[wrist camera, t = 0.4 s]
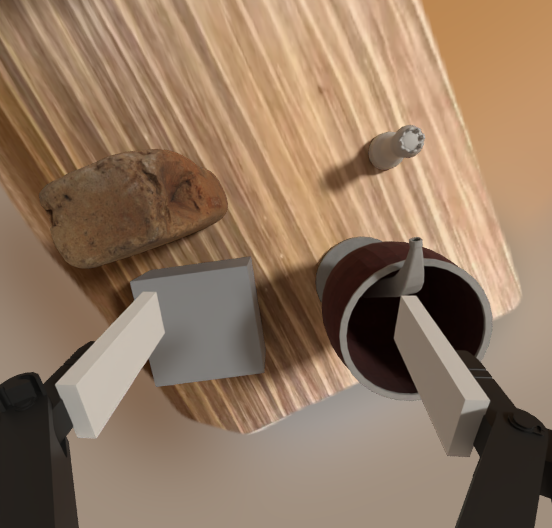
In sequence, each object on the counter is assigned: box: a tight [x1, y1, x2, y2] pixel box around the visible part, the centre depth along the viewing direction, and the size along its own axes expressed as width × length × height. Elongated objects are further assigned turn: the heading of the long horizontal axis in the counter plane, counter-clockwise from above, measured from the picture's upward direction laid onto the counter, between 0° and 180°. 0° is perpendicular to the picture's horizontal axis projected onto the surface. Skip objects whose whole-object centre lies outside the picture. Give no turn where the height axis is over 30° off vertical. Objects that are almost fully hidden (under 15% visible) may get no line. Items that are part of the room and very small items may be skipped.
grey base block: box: [130, 256, 266, 387], centre depth 40 cm, size 14×14×6 cm
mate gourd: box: [316, 237, 492, 401], centre depth 32 cm, size 16×14×20 cm
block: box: [39, 149, 228, 268], centre depth 30 cm, size 11×8×20 cm
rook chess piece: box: [368, 125, 425, 170], centre depth 35 cm, size 4×4×8 cm
